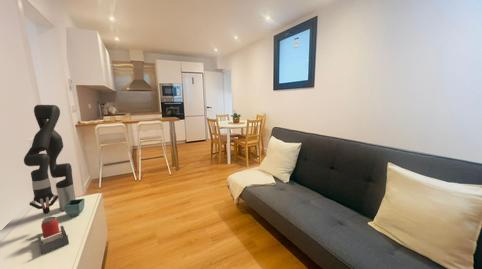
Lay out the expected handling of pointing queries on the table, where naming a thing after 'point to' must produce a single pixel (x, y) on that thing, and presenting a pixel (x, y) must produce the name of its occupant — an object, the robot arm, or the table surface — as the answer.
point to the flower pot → (74, 207)
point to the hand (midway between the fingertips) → (46, 213)
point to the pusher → (52, 238)
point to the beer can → (50, 227)
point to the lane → (53, 243)
